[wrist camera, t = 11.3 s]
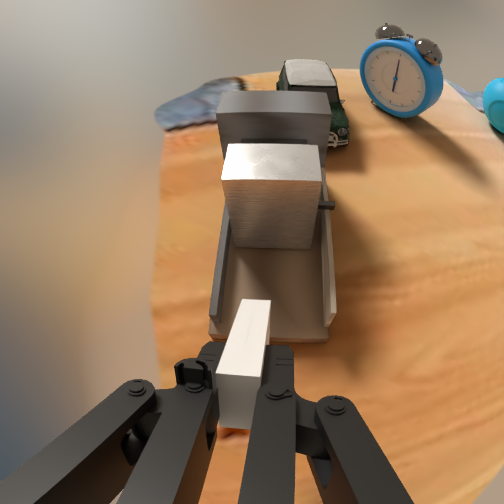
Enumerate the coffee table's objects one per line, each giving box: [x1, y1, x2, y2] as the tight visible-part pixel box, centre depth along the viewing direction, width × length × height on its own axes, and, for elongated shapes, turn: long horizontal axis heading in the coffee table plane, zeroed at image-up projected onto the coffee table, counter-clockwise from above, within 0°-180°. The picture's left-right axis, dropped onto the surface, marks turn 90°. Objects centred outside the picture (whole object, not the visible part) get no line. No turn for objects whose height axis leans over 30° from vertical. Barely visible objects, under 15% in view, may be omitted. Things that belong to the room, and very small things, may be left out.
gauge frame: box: [208, 91, 336, 343], centre depth 26 cm, size 10×20×12 cm, turn 176°
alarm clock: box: [360, 23, 443, 122], centre depth 37 cm, size 13×6×15 cm, turn 40°
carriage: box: [221, 144, 335, 249], centre depth 26 cm, size 9×4×9 cm, turn 86°
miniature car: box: [276, 59, 350, 147], centre depth 39 cm, size 9×18×8 cm, turn 179°
